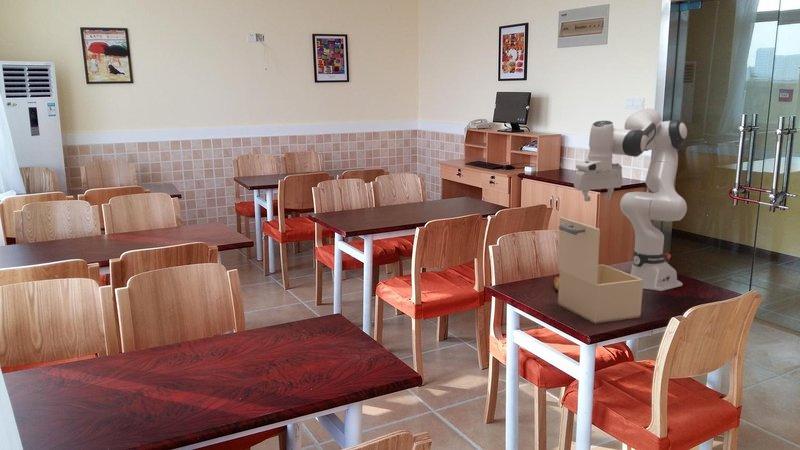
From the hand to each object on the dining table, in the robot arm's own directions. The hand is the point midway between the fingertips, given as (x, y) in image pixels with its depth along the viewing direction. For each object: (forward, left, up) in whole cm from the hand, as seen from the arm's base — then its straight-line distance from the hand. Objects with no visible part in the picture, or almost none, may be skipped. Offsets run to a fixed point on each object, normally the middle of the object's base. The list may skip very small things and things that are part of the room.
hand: (597, 200), depth 251 cm
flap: (+18, +15, -15) cm, 28 cm away
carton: (+8, +15, -39) cm, 42 cm away
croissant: (+5, -9, -39) cm, 40 cm away
